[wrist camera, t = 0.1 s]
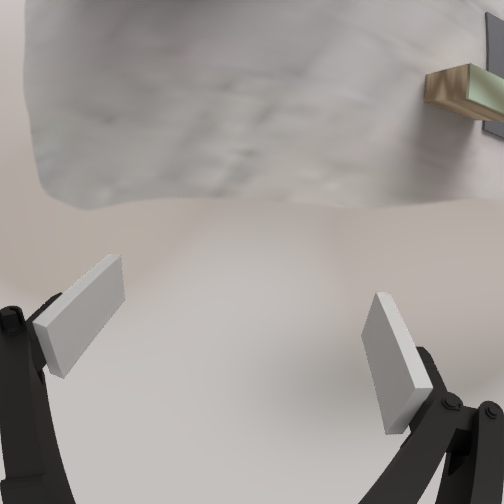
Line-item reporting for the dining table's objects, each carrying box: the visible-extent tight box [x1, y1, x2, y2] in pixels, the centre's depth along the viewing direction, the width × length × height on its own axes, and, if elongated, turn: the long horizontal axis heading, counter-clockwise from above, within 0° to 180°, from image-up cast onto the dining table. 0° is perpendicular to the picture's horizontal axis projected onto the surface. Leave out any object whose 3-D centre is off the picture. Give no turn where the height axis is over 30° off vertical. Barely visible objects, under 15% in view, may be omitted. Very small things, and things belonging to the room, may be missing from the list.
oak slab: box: [424, 63, 504, 122], centre depth 28 cm, size 4×9×12 cm, turn 85°
